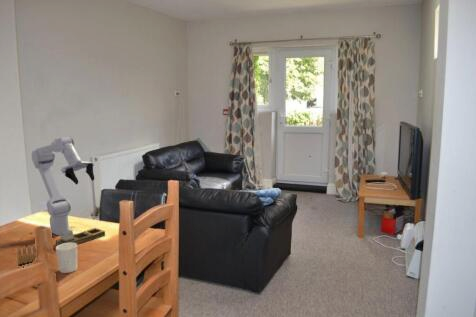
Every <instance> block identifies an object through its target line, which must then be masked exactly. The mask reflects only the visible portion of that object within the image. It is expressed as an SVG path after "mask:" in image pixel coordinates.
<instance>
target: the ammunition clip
mask: <svg viewBox="0 0 476 317" xmlns="http://www.w3.org/2000/svg"><path fill="white" fill-rule="evenodd" d="M31 248H32V249H31ZM36 252H37V248H36V245H35V243H32V247H31V245H30V244H28V245H27V249H26V246H25V245H22V249H21V247H20V246H17V264H18V265H17V266H22V265H25V264H29V263H32V262H33V261H34V260H35V258H36Z"/></svg>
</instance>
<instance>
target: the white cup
mask: <svg viewBox="0 0 476 317" xmlns="http://www.w3.org/2000/svg"><path fill="white" fill-rule="evenodd" d="M55 252H56V258H57V265H58V270H59V273H62V274H67V273H68V274H69V273H73V272H75V271H77V270H78V244H76V243H63V244H60V245H56V246H55Z"/></svg>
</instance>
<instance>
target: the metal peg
mask: <svg viewBox="0 0 476 317" xmlns="http://www.w3.org/2000/svg"><path fill="white" fill-rule="evenodd" d="M73 235H74V232H73V231H70V230H66V231H63V232H60V235H59V236H60V239H61V242H64V243H66V242H69V241H72V240H73Z"/></svg>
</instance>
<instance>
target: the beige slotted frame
mask: <svg viewBox="0 0 476 317" xmlns="http://www.w3.org/2000/svg"><path fill="white" fill-rule="evenodd" d="M105 236H106V231H105V230H103V229H100V228H97V227H93V228H90V229H87V230H84V231H82V232H79V233H78V232H77V233H75V234H74V233H73V240H72V241H69V242H66V243H76V244H77V245H79V244H82V243H86V242H90V241H92V240H94V239H98V238H102V237H105ZM63 243H64V242H61V238H59V239H55V245H56V246H58V245H60V244H63Z"/></svg>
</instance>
